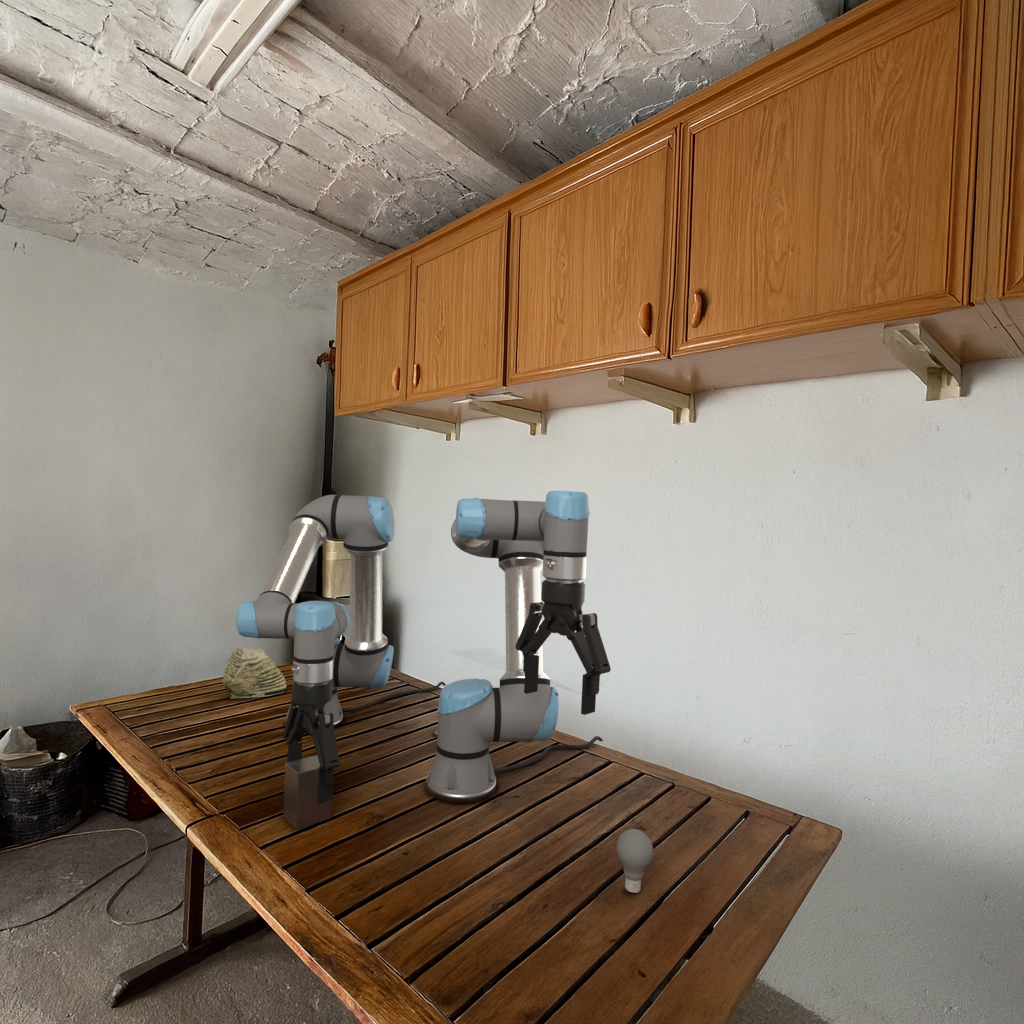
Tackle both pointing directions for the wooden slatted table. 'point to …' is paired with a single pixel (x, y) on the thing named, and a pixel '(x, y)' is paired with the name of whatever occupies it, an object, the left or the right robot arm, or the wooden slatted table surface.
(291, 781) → the grey boxy piece
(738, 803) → the wooden slatted table surface
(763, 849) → the wooden slatted table surface
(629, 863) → the light bulb
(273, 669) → the fossil
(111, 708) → the wooden slatted table surface
